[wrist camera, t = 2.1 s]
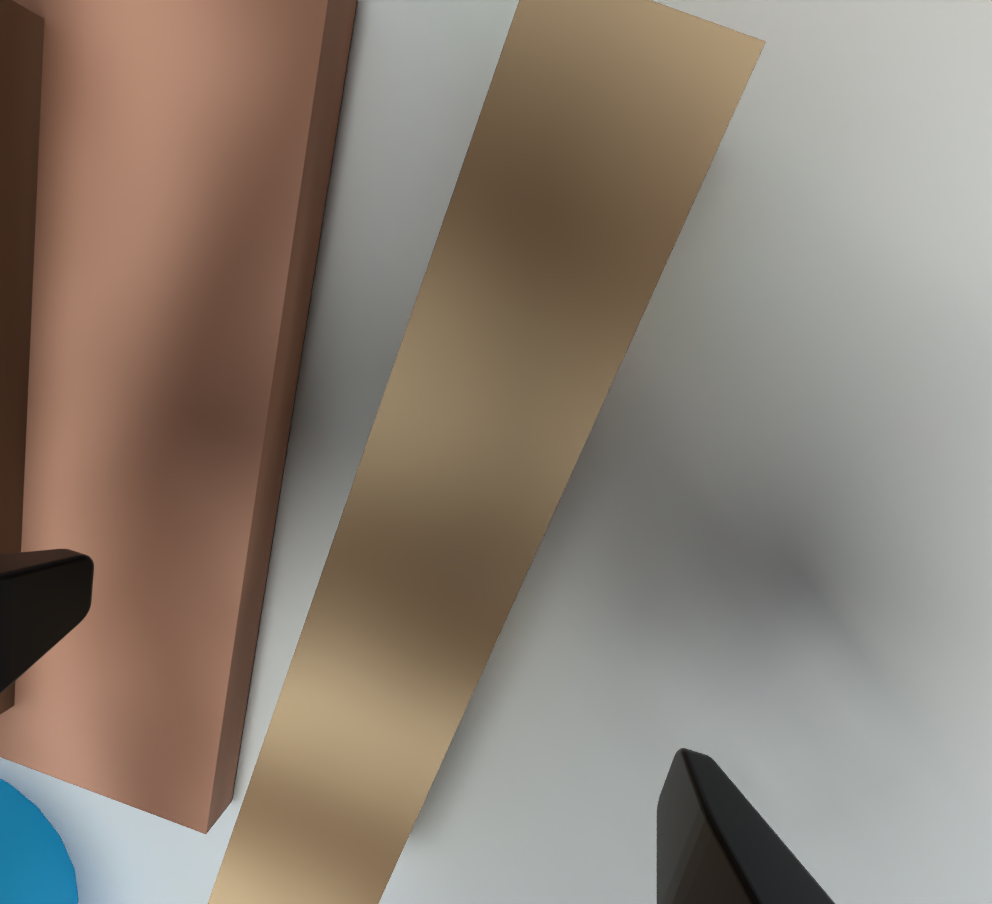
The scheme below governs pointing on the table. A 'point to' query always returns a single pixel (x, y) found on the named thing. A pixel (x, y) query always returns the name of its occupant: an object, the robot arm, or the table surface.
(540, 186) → the oak bar
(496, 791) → the table surface
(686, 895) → the robot arm
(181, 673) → the fulcrum stand
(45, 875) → the mug
